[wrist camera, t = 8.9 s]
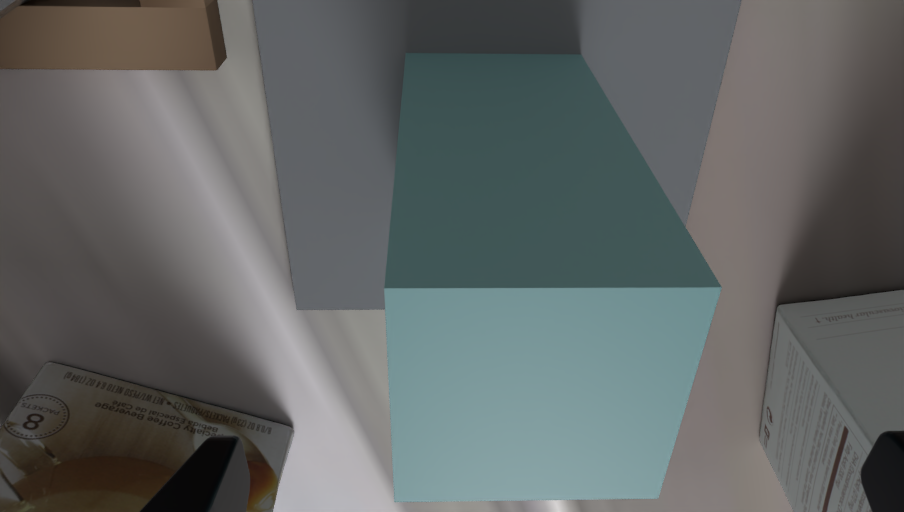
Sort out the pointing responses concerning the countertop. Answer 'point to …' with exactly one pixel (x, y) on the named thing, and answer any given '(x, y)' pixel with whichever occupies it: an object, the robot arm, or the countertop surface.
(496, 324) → the teal post
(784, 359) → the supplement box
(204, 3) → the walnut stand
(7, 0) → the metal ring
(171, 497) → the robot arm
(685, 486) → the countertop surface
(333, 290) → the charcoal mat
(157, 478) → the coffee box
